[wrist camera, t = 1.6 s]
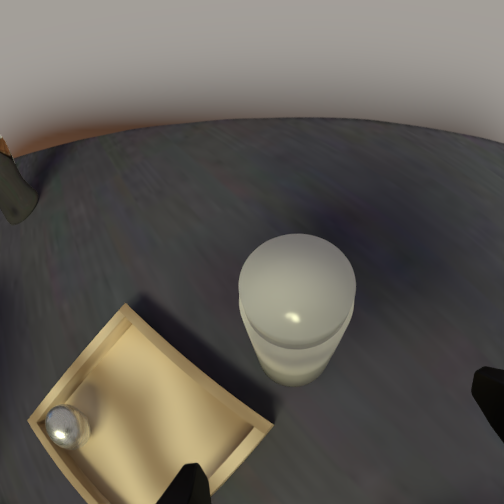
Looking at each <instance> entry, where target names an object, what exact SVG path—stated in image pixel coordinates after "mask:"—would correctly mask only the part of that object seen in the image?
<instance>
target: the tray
mask: <svg viewBox="0 0 504 504" xmlns="http://www.w3.org/2000/svg"><path fill="white" fill-rule="evenodd" d="M59 404H68V405H72V406H74V407H76V408H78V409H79V410H80V411H82V412H83V413H84V415H85V416H86V417H87V419H88V421H89V424H90V437H89V440H88V442H87V443H86V444H85V445H84V446H83V447H81V448H79V449H76V450H68V449H64V448H62V447H60V446H58V445H56V444H55V443H54V442H53V441H52V440H51V438H50V437H49V435H48V433H47V431H46V427H45V419H46V415H47V413H48V412H49V410H50V409H51V408H53V407H54V406H56V405H59ZM28 422H29V424H30V426H31V427H32V429H33V431H34V432H35V434H36V435H37V437H38V438H39V440H40V441H41V443H42V444H43V446H44V447H45V449H46V450H47V452H48V453H49V455H50V456H51V458H52V459H53V460H54V462H55V463H56V464H57V466H58V467H59V468H60V470H61V471H62V472H63V474H64V475H65V476H66V478H67V479H68V480H69V481H70V483H71V484H72V485H73V486H74V488H75V489H76V490H77V491H78V492H79V493H80V495H81V496H82V497H83V498H84V499H85V500H86V502H87V503H88V504H156V502H157V501H158V500H159V498H160V497H161V496H162V494H163V493H164V491H165V490H166V489H167V487H168V486H169V485H170V483H171V482H172V480H173V479H174V478H175V476H176V475H177V473H178V472H179V471H180V469H181V468H182V466H183V465H184V464H187V463H198V464H200V466H201V468H202V469H203V471H204V473H205V474H206V476H207V478H208V481H209V487H210V497H211V496H212V495H213V494H214V493H215V492H216V491H217V490H218V489H219V488H220V487H221V486H222V485H223V484H224V482H225V481H226V480H227V479H228V478H229V477H230V476H231V475H232V474H233V473H234V472H235V471H236V469H237V468H238V467H239V466H240V465H241V464H242V463H243V462H244V461H245V459H246V458H247V457H248V456H249V455H250V454H251V453H252V451H253V450H254V449H255V448H256V447H257V446H258V444H259V443H260V442H261V441H262V440H263V438H264V437H265V436H266V435H267V434H268V432H269V431H270V430H271V429H272V427H273V426H274V425H273V424H272V423H271V422H269V421H268V420H266V419H265V418H263V417H262V416H261V415H259V414H258V413H256V412H255V411H253V410H252V409H251V408H249V407H248V406H247V405H245V404H244V403H243V402H241V401H240V400H238V399H237V398H236V397H234V396H233V395H232V394H230V393H229V392H228V391H227V390H225V389H224V388H223V387H221V386H220V385H219V384H218V383H216V382H215V381H214V380H212V379H211V378H210V377H209V376H207V375H206V374H205V373H204V372H203V371H201V370H200V369H199V368H198V367H196V366H195V365H194V364H193V363H192V362H190V361H189V360H188V359H187V358H186V357H184V356H183V355H182V354H181V353H180V352H179V351H177V350H176V349H175V348H174V347H173V346H172V345H171V344H169V343H168V342H167V341H166V340H165V339H164V338H163V337H162V336H160V335H159V334H158V333H157V332H156V331H155V330H154V329H153V328H152V327H151V326H149V325H148V324H147V323H146V322H145V321H144V320H143V319H142V318H141V317H140V316H139V315H138V314H137V313H136V312H135V311H134V310H132V309H131V308H130V307H129V306H128V305H127V304H126V303H125V304H124V305H123V306H122V307H121V308H120V310H119V311H118V312H117V313H116V314H115V315H114V316H113V317H112V319H111V320H110V321H109V322H108V323H107V324H106V325H105V326H104V328H103V329H102V330H101V331H100V332H99V333H98V335H97V336H96V337H95V338H94V339H93V340H92V341H91V343H90V344H89V345H88V346H87V347H86V349H85V350H84V351H83V352H82V353H81V354H80V356H79V357H78V358H77V359H76V360H75V362H74V363H73V364H72V365H71V366H70V368H69V369H68V370H67V371H66V372H65V374H64V375H63V376H62V377H61V379H60V380H59V381H58V382H57V384H56V385H55V386H54V387H53V388H52V390H51V391H50V392H49V394H48V395H47V396H46V397H45V399H44V400H43V401H42V402H41V404H40V405H39V406H38V408H37V409H36V410H35V411H34V413H33V414H32V415H31V417H30V418H29V419H28Z"/></svg>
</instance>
